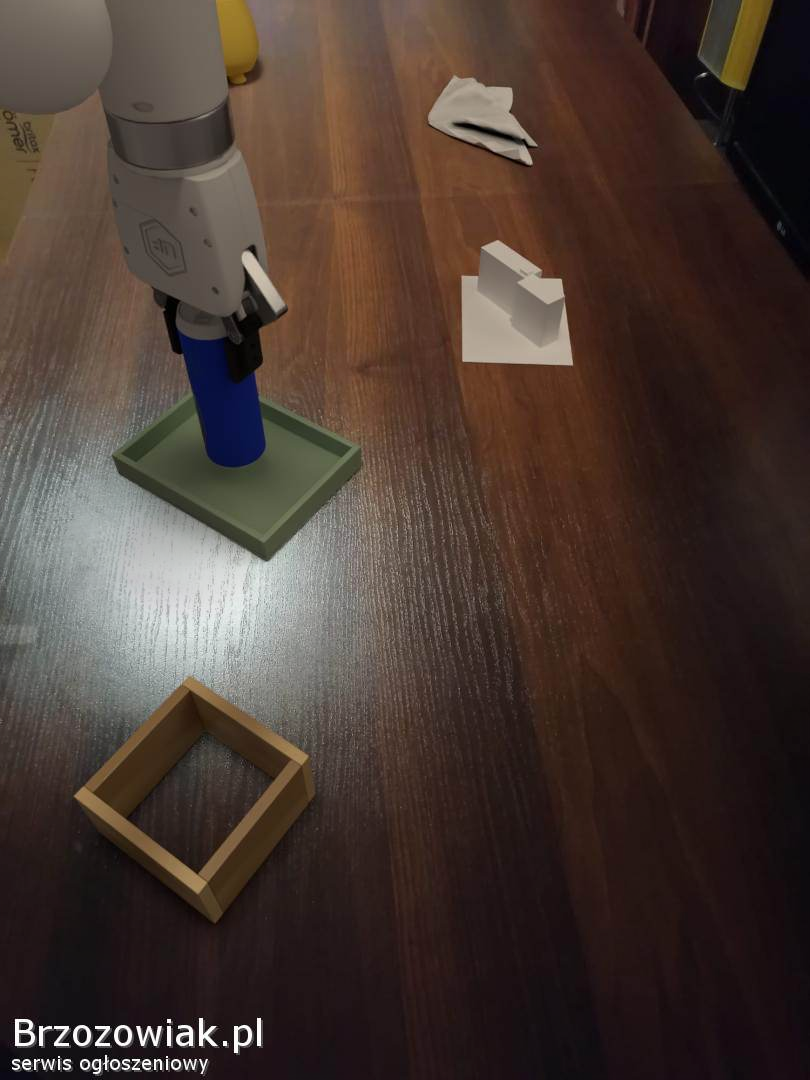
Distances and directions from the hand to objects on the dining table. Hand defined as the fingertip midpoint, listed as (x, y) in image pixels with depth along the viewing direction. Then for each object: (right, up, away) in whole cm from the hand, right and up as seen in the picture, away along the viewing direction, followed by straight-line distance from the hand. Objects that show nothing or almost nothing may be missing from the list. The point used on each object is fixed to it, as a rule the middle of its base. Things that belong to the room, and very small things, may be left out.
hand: (217, 356), depth 67 cm
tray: (0, -8, +10) cm, 13 cm away
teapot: (-14, +56, +61) cm, 84 cm away
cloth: (+25, +44, +52) cm, 72 cm away
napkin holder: (+26, +9, +25) cm, 37 cm away
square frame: (+2, -32, -10) cm, 34 cm away
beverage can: (0, -7, +8) cm, 11 cm away
